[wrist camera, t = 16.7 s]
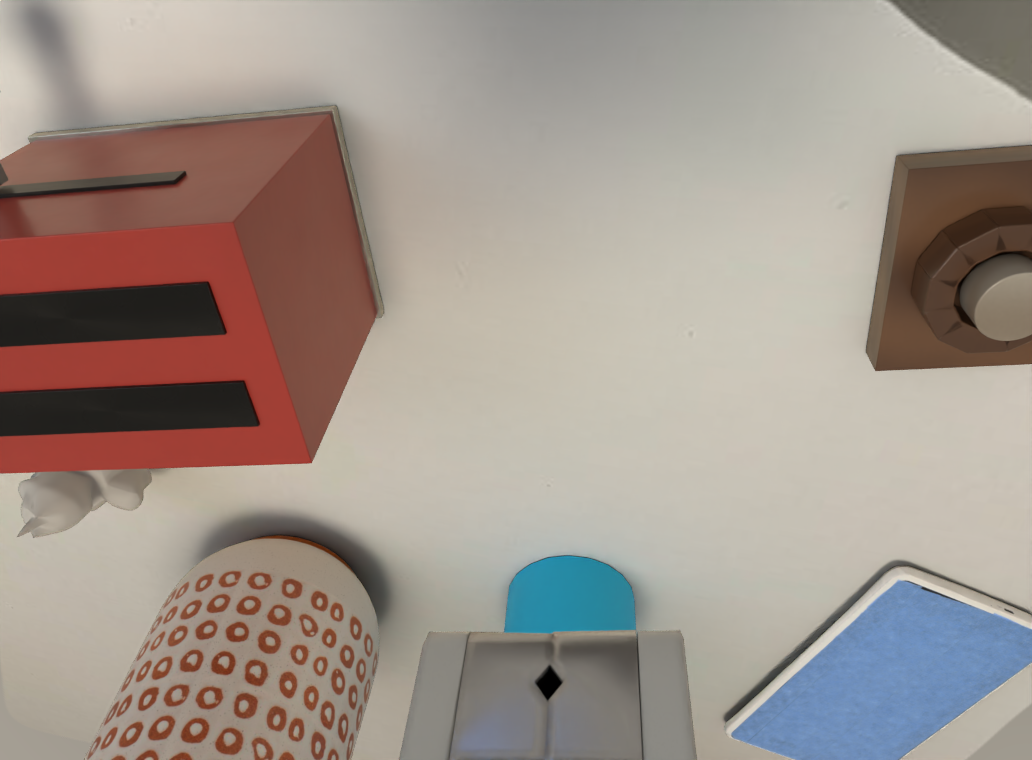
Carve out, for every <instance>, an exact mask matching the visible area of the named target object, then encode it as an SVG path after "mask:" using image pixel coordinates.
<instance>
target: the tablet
mask: <svg viewBox="0 0 1032 760" xmlns="http://www.w3.org/2000/svg"><path fill="white" fill-rule="evenodd" d="M1031 664H1032V616H1031V614H1028V613H1026V612H1024V611H1021V610H1019V609H1017V608H1014V607H1012V606H1010V605H1007V604H1005V603H1003V602H1000V601H998V600H996V599H993V598H991V597H988V596H986V595H983V594H981V593H978V592H976V591H973V590H971V589H968V588H966V587H963V586H961V585H958V584H956V583H953V582H950V581H948V580H945V579H942V578H940V577H937V576H934V575H931V574H929V573H926V572H923V571H921V570H918V569H915V568H913V567H910V566H896V567H894V568H892V569H890V570H888V571H887V572H886V573H885V574H884V575H883V576H882V577H881V578H880V579H879V580H878V581H877V582H876V583H875V584H874V585H873V586H872V587H871V588H870V589H869V590H868V591H867V592H866V593H865V594H864V595H863V596H862V597H861V598H860V599H859V600H858V601H857V602H856V603H855V604H854V605H853V606H852V607H851V608H850V609H849V610H848V611H847V612H846V613H845V614H843V615H842V616H841V617H840V618H839V619H838V620H837V621H836V622H835V623H834V624H833V625H832V626H831V627H830V628H829V629H827V630H826V631H825V632H824V633H823V634H822V635H821V636H820V637H819V638H818V639H817V640H816V641H815V642H814V643H813V644H812V645H810V646H809V647H808V648H807V649H806V650H805V651H804V652H803V653H802V654H801V655H800V656H799V657H798V658H796V659H795V660H794V661H793V662H792V663H791V664H790V665H789V666H788V667H787V668H786V669H785V670H783V671H782V672H781V673H780V674H779V675H778V676H777V677H776V678H775V679H774V680H773V681H772V682H771V683H770V684H769V685H768V686H766V687H765V688H764V689H763V690H762V691H761V692H760V693H759V694H758V695H757V696H755V697H754V698H753V699H752V700H751V701H750V702H749V703H748V704H747V705H746V706H744V707H743V708H742V709H741V710H740V711H739V712H738V713H737V714H736V715H734V716H733V717H732V718H731V719H730V720H729V721H728V722H726V723H725V725H724V730H725V732H726V734H727V735H728V736H729V737H730V738H732V739H734V740H737V741H740V742H743V743H746V744H749V745H752V746H755V747H758V748H761V749H763V750H766V751H770V752H772V753H775V754H778V755H781V756H784V757H787V758H790V759H793V760H901V759H902V758H904V757H905V756H906V755H908V754H909V753H910V752H912V751H913V750H915V749H916V748H917V747H919V746H920V745H921V744H923V743H924V742H925V741H927V740H928V739H929V738H931V737H932V736H934V735H935V734H936V733H938V732H939V731H940V730H942V729H943V728H945V727H946V726H947V725H949V724H950V723H952V722H953V721H954V720H956V719H957V718H958V717H960V716H961V715H962V714H964V713H965V712H966V711H968V710H969V709H970V708H972V707H973V706H975V705H976V704H977V703H979V702H980V701H981V700H983V699H984V698H985V697H987V696H988V695H990V694H991V693H992V692H994V691H995V690H996V689H998V688H999V687H1001V686H1002V685H1003V684H1005V683H1006V682H1008V681H1009V680H1010V679H1012V678H1013V677H1014V676H1016V675H1017V674H1018V673H1020V672H1021V671H1023V670H1024V669H1025V668H1027V667H1028V666H1029V665H1031Z"/></svg>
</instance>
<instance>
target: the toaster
mask: <svg viewBox="0 0 1032 760" xmlns="http://www.w3.org/2000/svg"><path fill="white" fill-rule="evenodd" d="M28 139H29V141H30V144H28V145H26V146H24V147H23V148H21V149H19V150H17V151H16V152H14V153H12V154H10V155H9V156H7V157H5V158H3V159H2V160H0V163H1V165H2V167H3V169H4V171H5V173H6V175H7V177H8V181H6V182H5V183H3V184H2V185H0V473H30V472H61V471H91V470H121V469H151V468H182V467H212V466H242V465H273V464H303V463H312V461H313V459H314V457H315V455H316V452H317V450H318V448H319V446H320V443H321V441H322V439H323V436H324V434H325V432H326V430H327V427H328V425H329V423H330V420H331V418H332V416H333V414H334V411H335V409H336V407H337V405H338V402H339V400H340V398H341V395H342V393H343V391H344V389H345V386H346V384H347V382H348V380H349V377H350V375H351V373H352V370H353V368H354V366H355V364H356V361H357V359H358V357H359V355H360V352H361V350H362V348H363V345H364V343H365V341H366V339H367V336H368V334H369V332H370V329H371V327H372V325H373V323H374V320H375V318H382V316H383V314H384V309H383V305H382V300H381V296H380V292H379V287H378V283H377V279H376V274H375V270H374V266H373V261H372V257H371V253H370V248H369V244H368V240H367V235H366V231H365V227H364V223H363V218H362V214H361V210H360V205H359V201H358V197H357V192H356V188H355V184H354V179H353V175H352V171H351V166H350V162H349V158H348V153H347V149H346V145H345V140H344V136H343V132H342V127H341V123H340V119H339V114H338V110H337V106H324V107H313V108H302V109H291V110H280V111H270V112H259V113H248V114H237V115H226V116H215V117H204V118H193V119H182V120H171V121H161V122H150V123H139V124H128V125H117V126H106V127H95V128H84V129H73V130H62V131H51V132H41V133H34V134H32V135H31V136H29V137H28Z"/></svg>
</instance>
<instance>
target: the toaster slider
mask: <svg viewBox="0 0 1032 760" xmlns="http://www.w3.org/2000/svg"><path fill="white" fill-rule="evenodd" d="M6 181H8V177H7V175H6V173H5V171H4V169H3V167H2V165H1V163H0V185H2V184H3V183H5V182H6Z"/></svg>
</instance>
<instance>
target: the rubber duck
mask: <svg viewBox="0 0 1032 760" xmlns="http://www.w3.org/2000/svg"><path fill="white" fill-rule="evenodd" d="M151 481H152V476H151V473H150V471H149V470H148V469H121V470H91V471H61V472H35V474H33V475H32V476H31V478H30V479H27V480H24V481H22V482H20V484H19V487H18V491H19V494H20V496H21V498H22V500H23V502H22V506H21V515H22V518H23V521H24V522H25V524H26V525H25V526H24V527H23V528H22V530H21V531H20V533H19V534H18V536H17V537H19V536H22V535H24V534H26V533H28V532H30V531H31V534H32V535H33V538H35V537H41V536H45V535H49V534H54V533H58V532H62V531H65V530H67V529H69V528H71V527H73V526H74V525H76V524H77V523H78V522H79V521H80V520H81V519H83V518H84V517H85V516H86V515H87V514H88V513H89V512H90V511H93V510H96V509H98V508H99V507H100V506H102V505H103V504H104V503H105V502H108V503H110V504H111V505H113V506H115V507H117V508H120V509H124V510H134V509H136V508H138V507H139V506H140V505H141V503H142V501H143V491H144V489H145V488H146V487H147V486H148V485H149V484H150V483H151Z"/></svg>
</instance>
